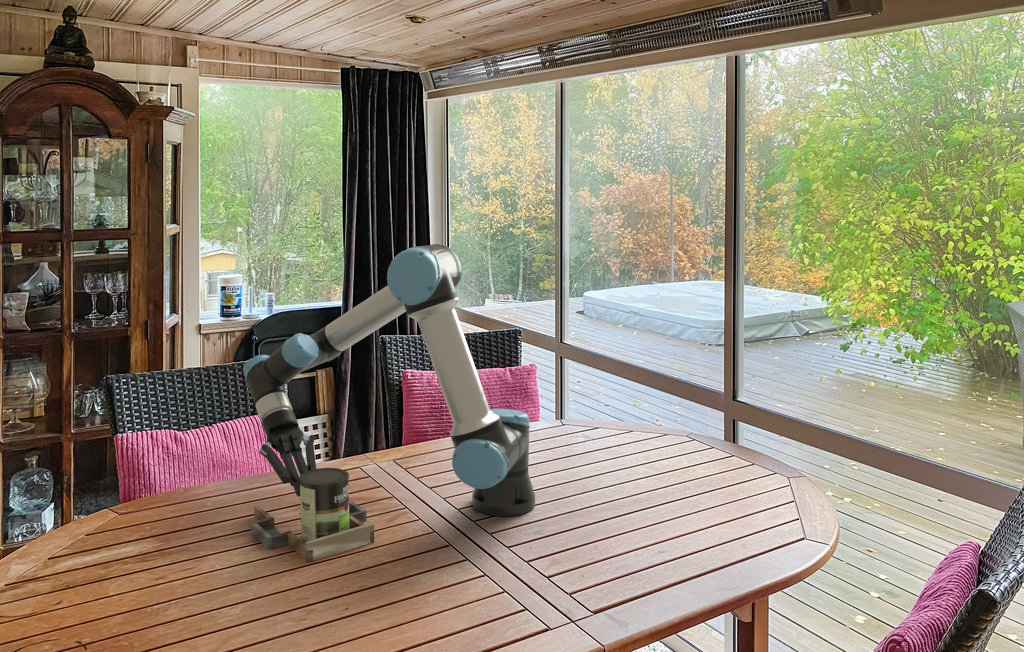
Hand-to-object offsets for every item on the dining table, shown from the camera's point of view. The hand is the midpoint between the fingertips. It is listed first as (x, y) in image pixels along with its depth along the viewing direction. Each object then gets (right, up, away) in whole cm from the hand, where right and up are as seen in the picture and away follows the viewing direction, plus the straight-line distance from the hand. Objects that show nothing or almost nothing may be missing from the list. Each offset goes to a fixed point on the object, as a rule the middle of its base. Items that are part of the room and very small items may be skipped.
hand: (311, 507), depth 171 cm
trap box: (-1, -5, +1) cm, 5 cm away
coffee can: (+4, -6, -4) cm, 8 cm away
